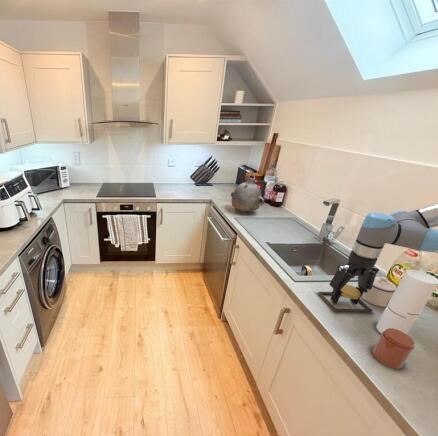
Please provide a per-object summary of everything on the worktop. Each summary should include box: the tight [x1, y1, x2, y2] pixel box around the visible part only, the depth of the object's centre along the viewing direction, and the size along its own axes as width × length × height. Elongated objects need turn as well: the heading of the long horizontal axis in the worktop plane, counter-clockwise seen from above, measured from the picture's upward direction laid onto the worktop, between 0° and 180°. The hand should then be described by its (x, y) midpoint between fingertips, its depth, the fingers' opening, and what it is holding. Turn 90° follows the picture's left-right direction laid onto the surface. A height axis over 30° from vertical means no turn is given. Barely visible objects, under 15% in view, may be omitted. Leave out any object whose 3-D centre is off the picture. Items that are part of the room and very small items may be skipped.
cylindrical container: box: [375, 269, 438, 335], centre depth 78 cm, size 7×7×25 cm
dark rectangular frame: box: [317, 291, 373, 314], centre depth 96 cm, size 14×10×2 cm
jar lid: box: [340, 283, 361, 300], centre depth 94 cm, size 7×7×2 cm
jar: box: [372, 328, 415, 370], centre depth 72 cm, size 7×7×10 cm
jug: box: [230, 174, 265, 213], centre depth 184 cm, size 24×21×30 cm
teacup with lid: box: [360, 276, 397, 308], centre depth 97 cm, size 12×9×12 cm
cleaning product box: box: [242, 179, 268, 203], centre depth 205 cm, size 16×9×20 cm, turn 88°
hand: (343, 301), depth 96 cm, fingers closed on jar lid, 7 cm apart
